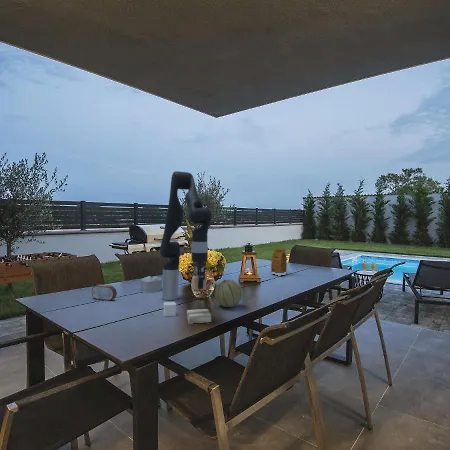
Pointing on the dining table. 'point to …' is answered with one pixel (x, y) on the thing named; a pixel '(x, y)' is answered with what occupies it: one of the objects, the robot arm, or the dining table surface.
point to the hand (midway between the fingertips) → (199, 287)
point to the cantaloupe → (228, 293)
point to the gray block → (198, 316)
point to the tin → (104, 292)
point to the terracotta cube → (195, 283)
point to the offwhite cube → (169, 309)
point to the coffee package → (279, 261)
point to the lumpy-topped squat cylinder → (151, 284)
